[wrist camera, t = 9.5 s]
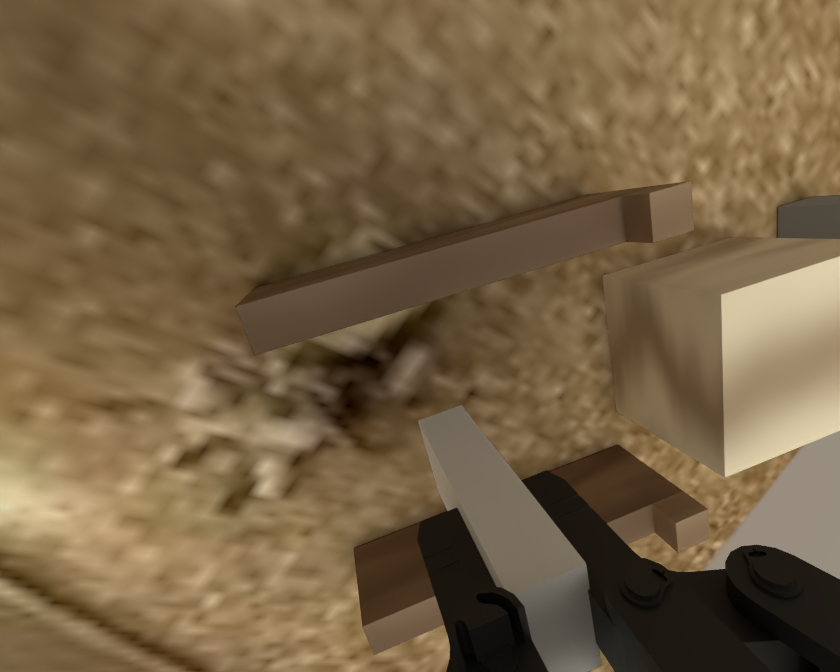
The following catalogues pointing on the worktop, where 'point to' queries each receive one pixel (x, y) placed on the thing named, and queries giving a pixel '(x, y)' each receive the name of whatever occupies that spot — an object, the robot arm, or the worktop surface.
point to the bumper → (810, 218)
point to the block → (730, 347)
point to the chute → (457, 272)
